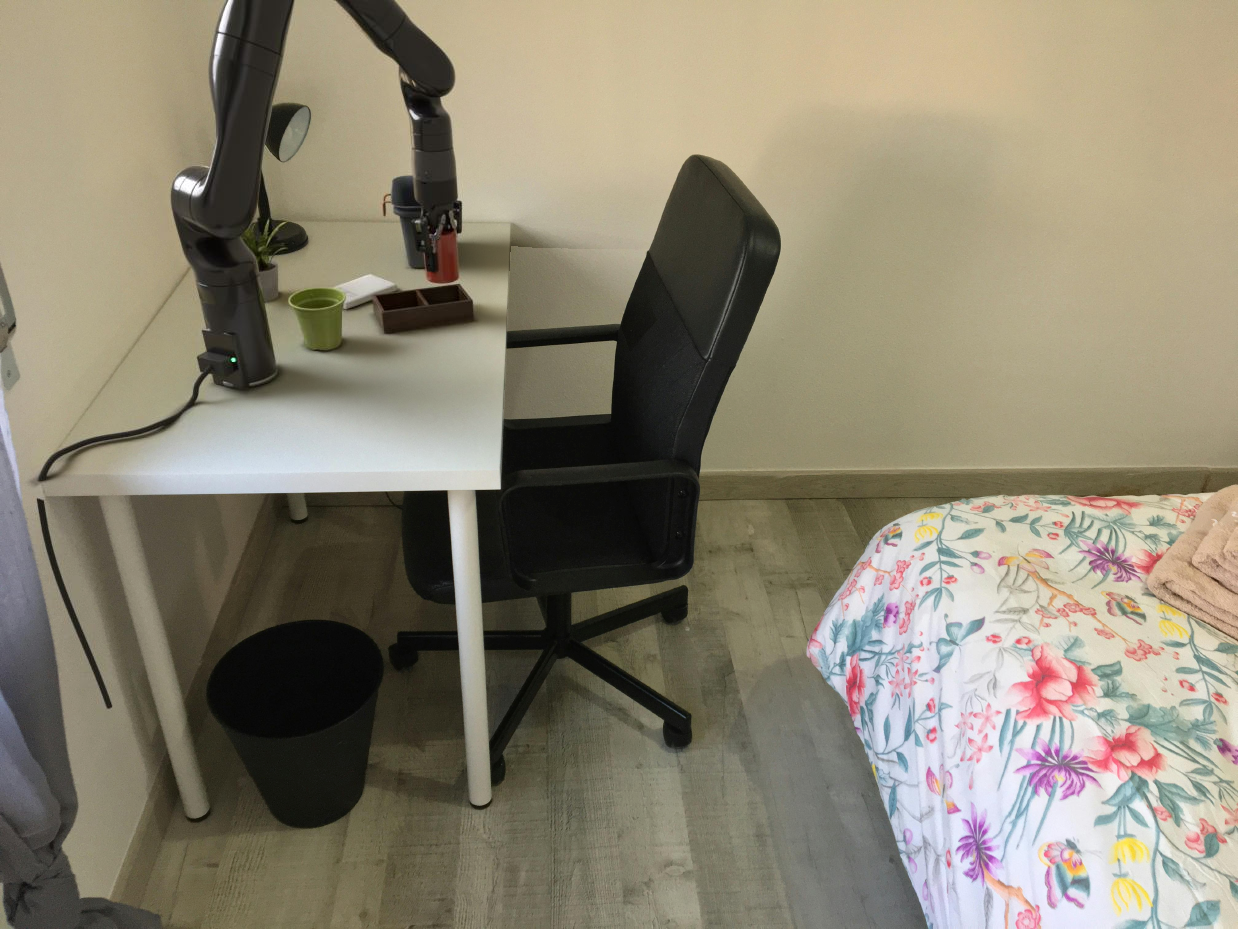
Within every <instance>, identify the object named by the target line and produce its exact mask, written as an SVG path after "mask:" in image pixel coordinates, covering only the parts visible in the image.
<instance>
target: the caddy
mask: <svg viewBox="0 0 1238 929" xmlns="http://www.w3.org/2000/svg"><path fill="white" fill-rule="evenodd" d="M371 301H372V309H373V315H374V317H375V320H376V321H377V323H378V325H379V326H380V328H381V330H382V332H383V333H384V334H392V333H397V332H398V333H399V332H405V331H406V332H407V331H410V330H412V331H413V330H419V329H425V328H426V329H427V328H433V327H441V326H446V325H453V324H460V323H467V322H472V321H475V315H474V314H475V313H474V299H472V297H471V296H470V295H469V293H468V292H467V291H466V290H465V288H464V287H463V286H462V285H461V283H454V284H446V285H445V284H444V285H438V286H430V287H422V288H415V289H407V290H400V291H394V292H391V293H383V294H375V295H372V300H371Z"/></svg>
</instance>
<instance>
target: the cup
mask: <svg viewBox="0 0 1238 929" xmlns="http://www.w3.org/2000/svg"><path fill="white" fill-rule="evenodd" d="M429 234H432V235H434V234H436V233H434V232H430V231H429ZM457 236H458V234H457V232H456V229H455V228H453V231H452V232H451V233H450V232H449V231H442V235H441V236H440V240H438V245H437V251H436V252H437V255H438V268H439V270H438V271H437V272H436V273H433V272H428V271H427V270H426V266H425V267H424V271H425V272H424V273H425V278H426V280H427V282H430V283H432V284H437V285H438V284H439V285H441V284H444V285H445V284H452V283H454V282H456V281H458V280H459V278H460V266H459V248H458V237H457ZM430 243H431V246H432V239H430ZM424 261H425V254H424Z"/></svg>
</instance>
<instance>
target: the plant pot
mask: <svg viewBox="0 0 1238 929" xmlns="http://www.w3.org/2000/svg"><path fill="white" fill-rule="evenodd" d="M345 300H346V295H345V293H344V292H342V291H340V290H338V289H334V288H333V287H325V286H324V287H323V286H322V287H318V286H317V287H309V288H304V289H301V290H298V291H296V292H294V293H293V294H291V295H290V296H289V297H288V305H289V306H290V307H291V308H292V310H293V312H294V313H295V315H296V319H297V321H298V322H297V323H298V325H299V328H300V331H301V334H302V338H303V340H304V345H305V346H306V347H307V348H308V349H310V350H313V351H316V350H321V351H330V350H334V349H337V348H338V347H339V346H340V345H341V343H342V342H343V306H344V302H345Z"/></svg>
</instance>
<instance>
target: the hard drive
mask: <svg viewBox="0 0 1238 929" xmlns="http://www.w3.org/2000/svg"><path fill="white" fill-rule="evenodd" d="M332 288H334V289H338V290H340V291H342V292H344V293H345V295H346V300H345V302H344V306H343V309H344V310H348V309H351V308H354V307H356V306H358V305H362V304H365V303H367V302H369V301H372V295H375V294H383V293H391V292H397V291H398V290H397V284H396V283H395V282H392V281H389V280H386V279H383V278H381V277H380V276H377V275H374V274H371V273H369V274H366V275H364V276H360V277H359V278H356V279H353V280H349V281H347V282H343V283H341V284H339V285H336V286H333V287H332ZM343 309H342V310H343Z"/></svg>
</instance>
